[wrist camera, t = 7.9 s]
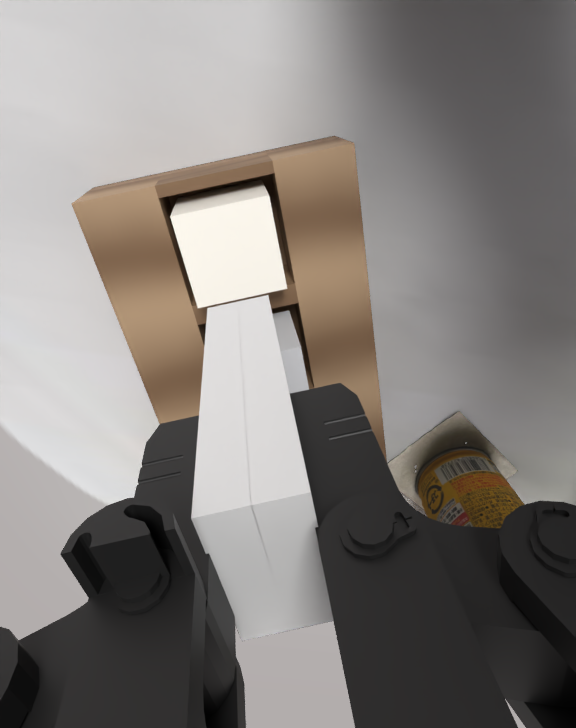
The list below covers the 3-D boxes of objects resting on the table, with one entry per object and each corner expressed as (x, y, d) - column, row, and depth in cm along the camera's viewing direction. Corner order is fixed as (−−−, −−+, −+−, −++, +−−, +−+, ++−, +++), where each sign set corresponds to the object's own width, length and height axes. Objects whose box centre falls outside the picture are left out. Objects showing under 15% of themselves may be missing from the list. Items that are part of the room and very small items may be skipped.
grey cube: (210, 327, 24) (209, 367, 20) (289, 310, 24) (300, 346, 20) (229, 393, 26) (231, 439, 22) (302, 376, 26) (315, 420, 22)
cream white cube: (177, 197, 22) (170, 216, 19) (261, 179, 22) (269, 195, 19) (200, 277, 24) (197, 308, 21) (277, 261, 24) (287, 288, 21)
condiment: (440, 522, 38) (522, 680, 28) (376, 470, 35) (442, 630, 24) (516, 468, 37) (634, 617, 26) (457, 408, 33) (567, 552, 23)
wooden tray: (93, 187, 23) (71, 203, 20) (334, 135, 23) (354, 143, 20) (195, 462, 32) (192, 507, 29) (369, 423, 32) (386, 462, 29)
